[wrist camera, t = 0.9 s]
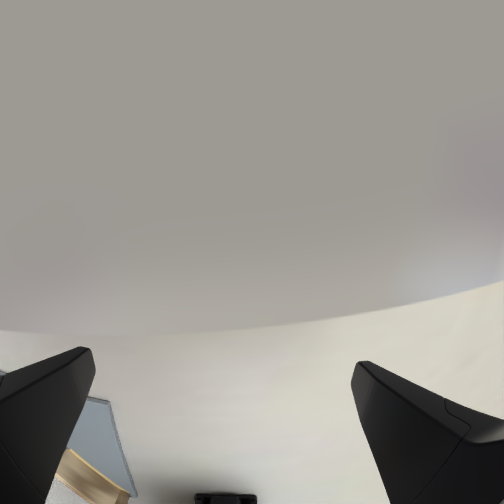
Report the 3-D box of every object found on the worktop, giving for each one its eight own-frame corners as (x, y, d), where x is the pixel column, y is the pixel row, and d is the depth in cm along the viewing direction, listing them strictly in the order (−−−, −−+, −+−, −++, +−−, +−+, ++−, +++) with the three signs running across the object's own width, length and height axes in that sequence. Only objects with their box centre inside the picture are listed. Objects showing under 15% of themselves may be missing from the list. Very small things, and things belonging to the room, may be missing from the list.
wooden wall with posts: (134, 491, 21) (123, 522, 16) (125, 495, 21) (113, 525, 16) (56, 428, 21) (33, 454, 15) (50, 435, 21) (28, 459, 15)
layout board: (138, 496, 21) (137, 500, 21) (11, 452, 20) (9, 454, 20) (109, 401, 21) (106, 405, 20) (-24, 361, 20) (-27, 363, 19)
